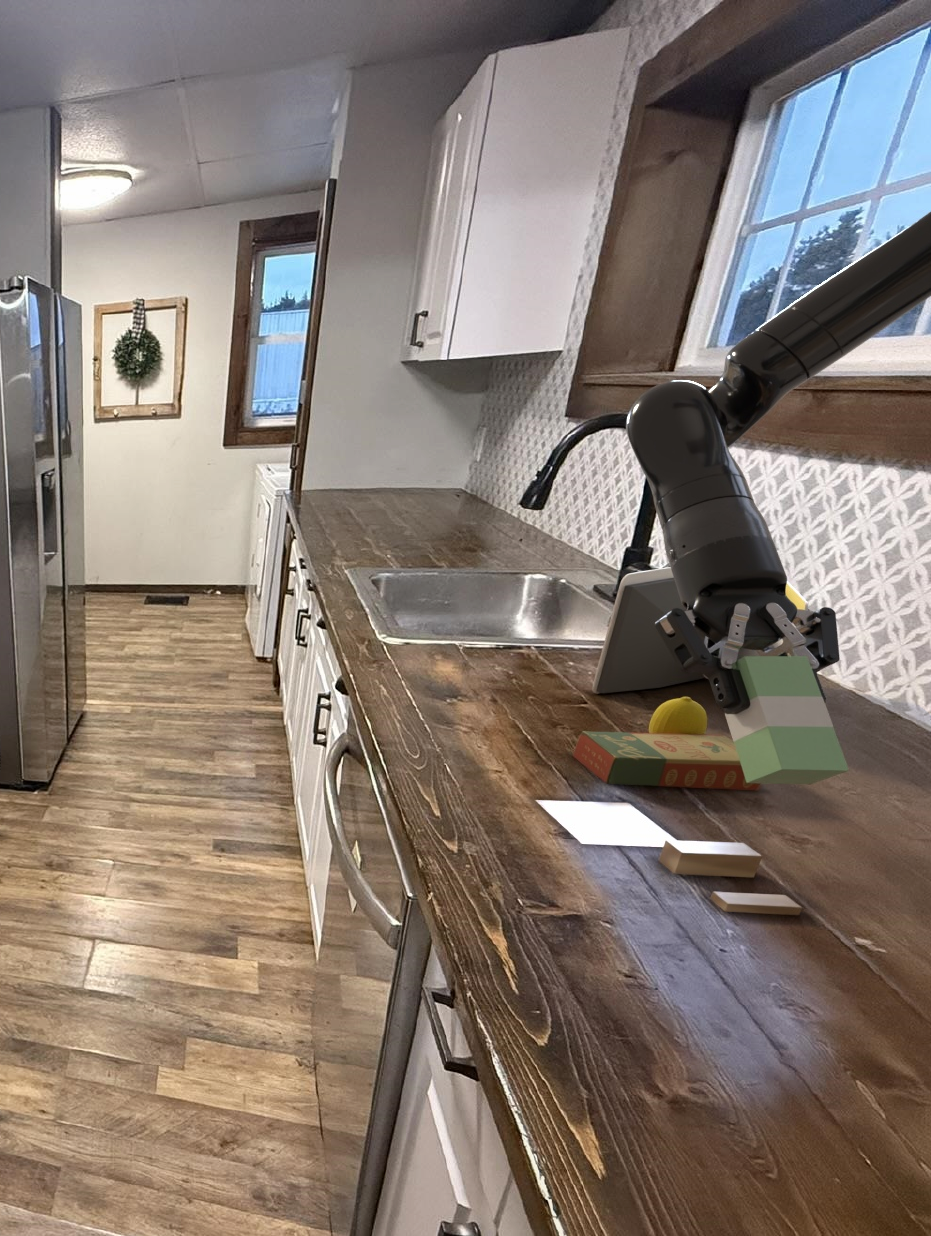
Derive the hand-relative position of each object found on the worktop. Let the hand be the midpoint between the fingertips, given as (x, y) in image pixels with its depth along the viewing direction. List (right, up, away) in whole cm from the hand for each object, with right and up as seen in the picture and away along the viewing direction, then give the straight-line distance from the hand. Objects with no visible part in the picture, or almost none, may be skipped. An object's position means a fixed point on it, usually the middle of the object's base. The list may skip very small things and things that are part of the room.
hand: (774, 710), depth 71 cm
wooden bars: (0, -17, +5) cm, 18 cm away
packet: (0, -1, 0) cm, 1 cm away
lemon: (+20, -5, +32) cm, 38 cm away
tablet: (+37, +3, +51) cm, 63 cm away
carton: (+14, -8, +27) cm, 31 cm away
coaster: (-2, -13, +16) cm, 21 cm away
